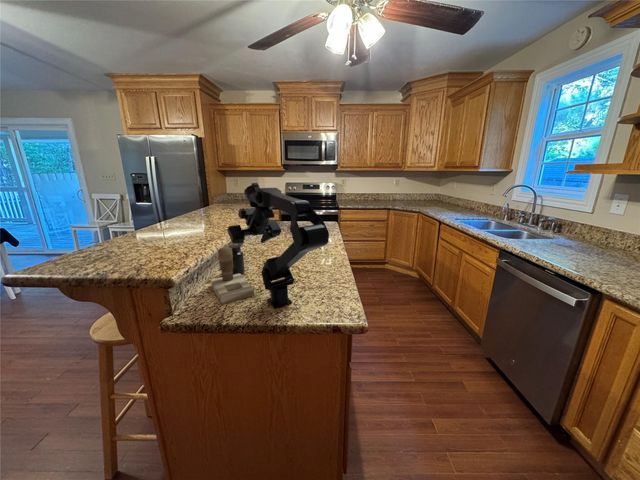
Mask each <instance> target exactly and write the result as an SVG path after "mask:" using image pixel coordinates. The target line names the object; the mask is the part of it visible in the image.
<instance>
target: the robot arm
mask: <svg viewBox="0 0 640 480" xmlns="http://www.w3.org/2000/svg"><path fill="white" fill-rule="evenodd" d="M243 192H244V193H243V194H244V195H245V198H246V200H247V202H248V204H249V206H250V207H248V208H239V210H238V213H237V215H238V217H239V219H240V220H245V225H246V227H247V226H248V227H247V228H245V229H243V228H242V227H241V225H240V224H234V225H228V227H227V230H226V231H227V233H228V236H229V238H230V240H231V241H230V242H231V243H233V244H235V245H238V247H239V248H242V246H243V245H244V243H245V238H246V237H249V236H253V237H254V236H256V237H257V236H260V235H262V236H261V239H260V243H261V244H264V243H266V242H268V241H270V240H272V239H273V238H277V237H278V236H280V235H281V233H282V228H281V227H280V224H279V223H278V221H277V220H274V218H275V213H274V211H273V208H274V209H276V210H280V211H282V212H284V213H286V214H289V217H290V225H289V231H290V233H291V236H292V237H291V238H292V240H293V242H292V243H291V244H290V245H289V246H288V247H287V248H286V249H285V251H283V253H281V255H279V256H275V257H269V258H267V259H266V261H265V262H263V266H262V268H261V269H262V270H261V277H262V281H263V282H262V283H263V286H264V289H265V291H266V290H267V291H269V292H270V293H269V294H270V297H269V298H267V299H266V301H267V303H268V304H270V306H271V307H273V309H277V308H281V307H284V306H288V305H291V304H293V300H291V298H289V293H288V291H289V289H288V286H291V285H294V283H295V279H294V277H293V274H292V272H291V268H292V267H293V266H294V265H296V263H297V262H299V261H300V260H301V259H302V258H303V257H304V256H305V255H306V254H308V253H309V252H311V251H315V250H318V249H320V248H322V247H324V246H327V245H328V243H329V242H330V241H329V237H330V232H329V230H328V228H327V225H326V223H325V221H324V219H323V218H322V217H321V216H320V215H319V213H317V212H316V211H315V210H314V209H313V207H312V205H311V203H310V201H308V200H305V199H304V200H303V199H299V198H297V197H292V196H290V195H286V194H284V193H282V190H280V189H279V188H277V187H260V186H259V183H258V182H252V183H251V185H249V186H247V187H246V188H245V189H244V191H243ZM299 217H305V219H307V220H308V221H309V222H310V223H311V224H312V225H306V226H305V225H304V226H299V222H298V218H299ZM270 219H273V220H270Z"/></svg>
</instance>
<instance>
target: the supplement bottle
mask: <svg viewBox="0 0 640 480" xmlns="http://www.w3.org/2000/svg"><path fill="white" fill-rule="evenodd" d="M228 247H230V248H232V255H233V266H234V268H233V269H232V271H233V275H235V274H239V273H240V274H241V275H243V274H244V273H245V269H246V268H245V259H244V256H245V255H244V252H243V251H241V248H242V247H240V248H239V247H238V244H233V245H228Z"/></svg>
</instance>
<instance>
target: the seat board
mask: <svg viewBox="0 0 640 480" xmlns="http://www.w3.org/2000/svg"><path fill="white" fill-rule="evenodd" d="M210 283H211V285H210V286H211V288H212V289H213V291H214V292H215V295H216V296H217V298H218V299H219V301H220V303H221V305H224V304H228V303H231V302H235V301H239V300H242V299H246V298H249V297H253V296H255V289H254V287H253V286H252V285H251V283H249V281H247V279H246V278H245V277H244V276H243V274H240V273H239V274H235V275H233V280H231V281H223V279H222V276H221V277H217V278H213V279H210Z"/></svg>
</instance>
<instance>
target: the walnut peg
mask: <svg viewBox="0 0 640 480" xmlns="http://www.w3.org/2000/svg"><path fill="white" fill-rule="evenodd" d="M217 250H218V251H217V253H218V261H219V269H220V271H221V275H222V276H221V277H222V279H223V281H231V280H233V271H232V269H233V268H234V266H233V255H232V248H230V247H229V246H228V247H227V246H226V247H220V248H218V249H217Z"/></svg>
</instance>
